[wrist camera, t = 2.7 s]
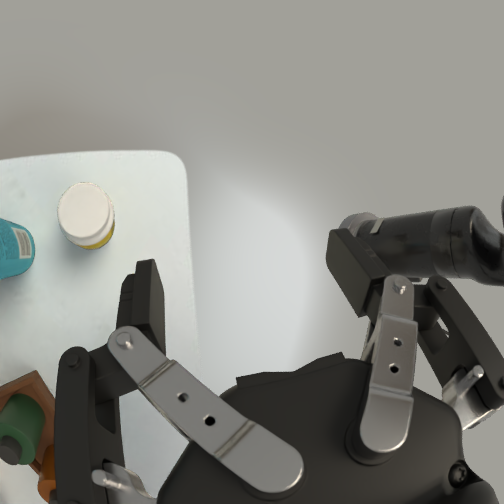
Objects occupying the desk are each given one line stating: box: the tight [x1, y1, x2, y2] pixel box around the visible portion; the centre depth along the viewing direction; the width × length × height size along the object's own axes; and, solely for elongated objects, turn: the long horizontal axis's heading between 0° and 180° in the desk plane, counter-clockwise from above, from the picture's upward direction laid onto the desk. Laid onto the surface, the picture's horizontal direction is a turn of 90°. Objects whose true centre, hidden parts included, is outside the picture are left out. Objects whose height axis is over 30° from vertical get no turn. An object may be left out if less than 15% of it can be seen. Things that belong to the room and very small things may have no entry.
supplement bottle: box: [57, 182, 115, 250], centre depth 21 cm, size 5×5×8 cm
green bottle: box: [0, 393, 45, 465], centre depth 15 cm, size 5×5×9 cm
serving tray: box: [0, 370, 55, 476], centre depth 20 cm, size 21×9×2 cm, turn 24°
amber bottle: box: [38, 444, 58, 504], centre depth 17 cm, size 5×5×9 cm
